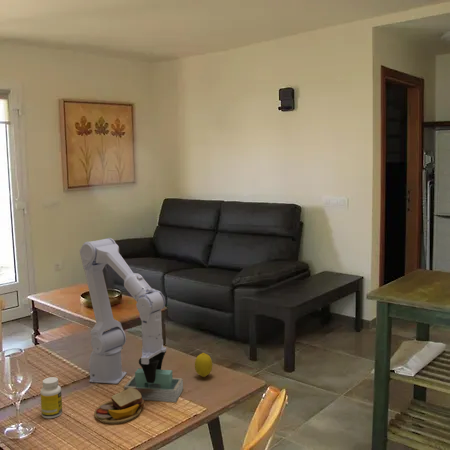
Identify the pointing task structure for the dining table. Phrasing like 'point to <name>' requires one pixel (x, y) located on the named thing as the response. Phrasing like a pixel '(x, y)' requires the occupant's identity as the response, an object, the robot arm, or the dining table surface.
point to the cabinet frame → (158, 390)
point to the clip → (160, 378)
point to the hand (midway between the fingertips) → (153, 378)
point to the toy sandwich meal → (120, 407)
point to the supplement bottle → (51, 398)
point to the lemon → (203, 364)
